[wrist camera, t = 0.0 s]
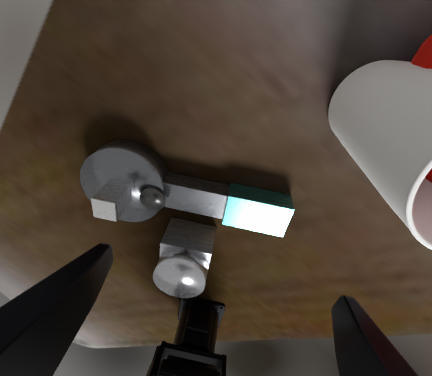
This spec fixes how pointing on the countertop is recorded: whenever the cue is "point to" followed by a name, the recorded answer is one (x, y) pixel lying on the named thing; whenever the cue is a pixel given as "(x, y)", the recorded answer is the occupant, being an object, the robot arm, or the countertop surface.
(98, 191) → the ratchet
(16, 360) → the robot arm
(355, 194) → the countertop surface
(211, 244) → the cylinder with square end
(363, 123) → the mug
